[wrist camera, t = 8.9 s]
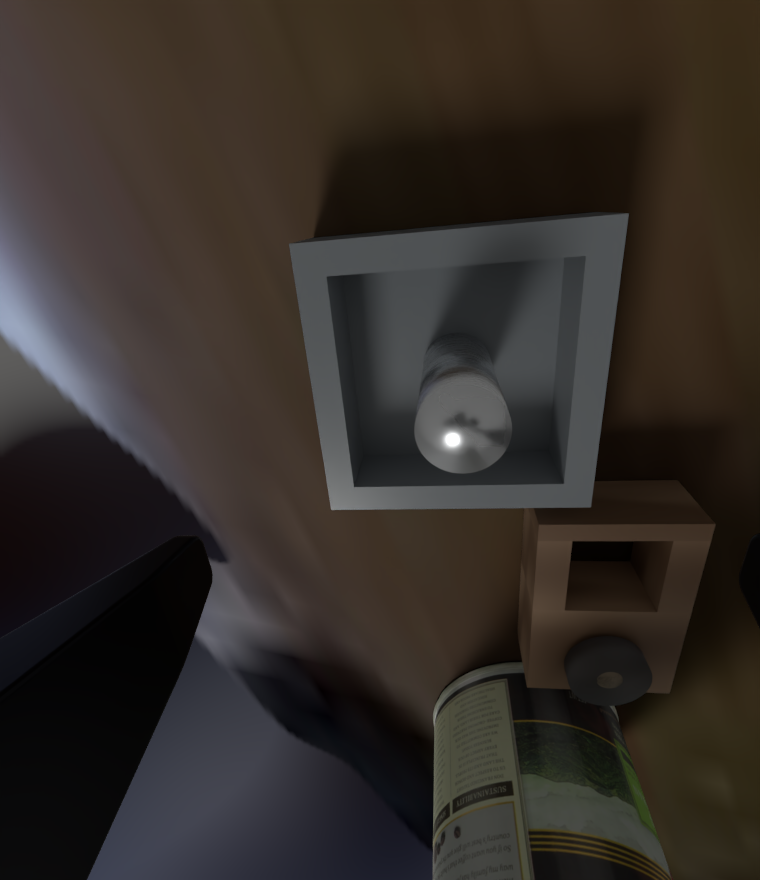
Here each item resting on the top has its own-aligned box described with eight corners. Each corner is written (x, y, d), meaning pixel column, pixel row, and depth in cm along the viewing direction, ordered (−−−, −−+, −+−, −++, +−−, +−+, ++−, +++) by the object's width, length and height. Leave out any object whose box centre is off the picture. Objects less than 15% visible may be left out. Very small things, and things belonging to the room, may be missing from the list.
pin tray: (570, 466, 19) (590, 507, 17) (345, 470, 21) (331, 509, 18) (595, 211, 15) (628, 213, 13) (312, 237, 17) (289, 243, 14)
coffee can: (605, 647, 24) (791, 1141, 11) (626, 768, 28) (781, 1230, 15) (409, 671, 26) (382, 1100, 14) (455, 779, 30) (467, 1187, 18)
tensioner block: (643, 637, 23) (680, 715, 20) (517, 633, 24) (530, 708, 20) (677, 479, 19) (731, 542, 16) (525, 482, 20) (544, 541, 16)
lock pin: (490, 396, 18) (511, 472, 13) (424, 399, 18) (417, 474, 13) (490, 330, 17) (513, 383, 12) (421, 335, 17) (411, 387, 12)
